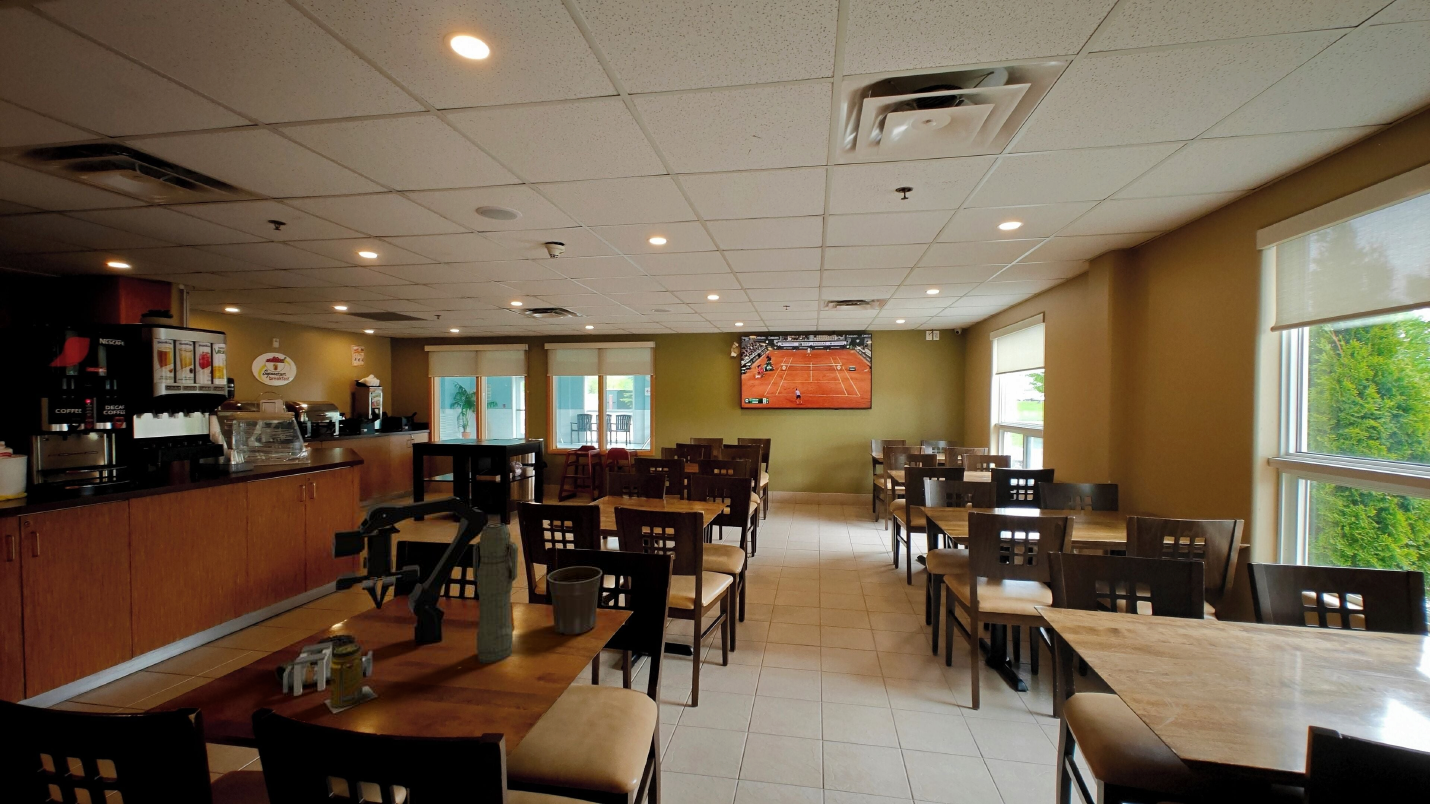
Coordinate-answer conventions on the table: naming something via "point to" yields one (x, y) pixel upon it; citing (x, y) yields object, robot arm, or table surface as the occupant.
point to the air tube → (312, 673)
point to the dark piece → (317, 652)
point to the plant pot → (574, 598)
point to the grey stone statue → (495, 592)
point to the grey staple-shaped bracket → (305, 662)
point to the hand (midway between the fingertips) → (379, 608)
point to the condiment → (347, 679)
